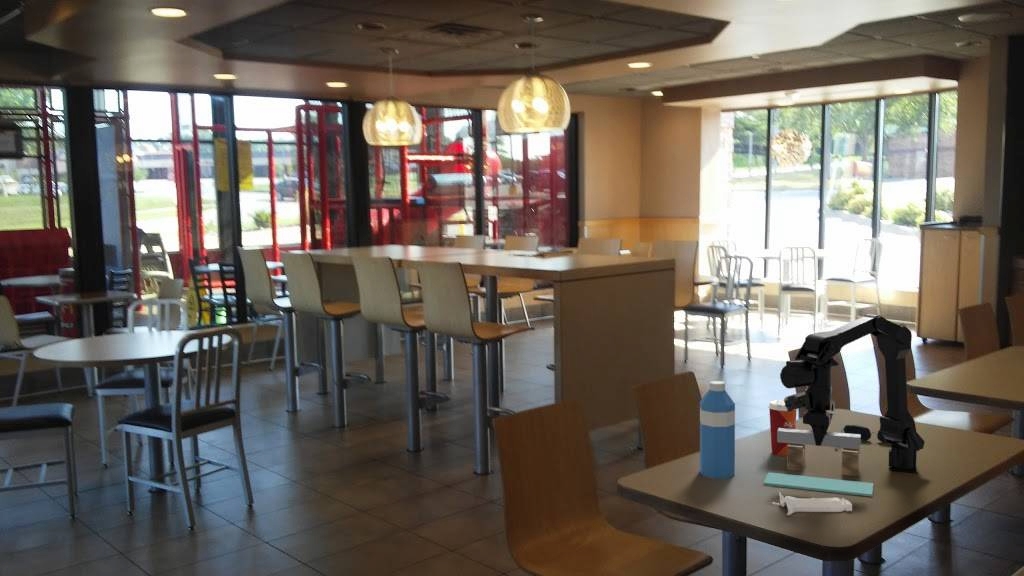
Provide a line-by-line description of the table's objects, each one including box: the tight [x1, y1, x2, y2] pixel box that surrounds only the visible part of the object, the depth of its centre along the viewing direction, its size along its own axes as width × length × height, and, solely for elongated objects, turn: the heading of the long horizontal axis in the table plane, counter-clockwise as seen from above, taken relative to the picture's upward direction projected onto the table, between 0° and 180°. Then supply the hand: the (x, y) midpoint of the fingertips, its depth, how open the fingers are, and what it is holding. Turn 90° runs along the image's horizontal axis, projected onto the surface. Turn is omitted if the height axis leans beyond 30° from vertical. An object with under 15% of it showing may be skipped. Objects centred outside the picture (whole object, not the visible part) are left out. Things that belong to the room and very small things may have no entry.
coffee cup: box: [767, 399, 798, 457], centre depth 252 cm, size 8×8×15 cm
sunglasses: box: [834, 424, 886, 451], centre depth 256 cm, size 17×15×5 cm
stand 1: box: [786, 443, 806, 472], centre depth 239 cm, size 4×6×6 cm, turn 156°
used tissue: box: [772, 490, 853, 516], centre depth 206 cm, size 11×18×4 cm, turn 77°
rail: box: [777, 428, 862, 450], centre depth 223 cm, size 20×3×3 cm, turn 66°
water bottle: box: [699, 380, 736, 479], centre depth 234 cm, size 9×9×25 cm
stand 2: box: [841, 448, 860, 477], centre depth 234 cm, size 4×6×6 cm, turn 156°
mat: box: [763, 472, 874, 497], centre depth 224 cm, size 26×9×1 cm, turn 66°
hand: (818, 443), depth 223 cm, fingers closed on rail, 3 cm apart
